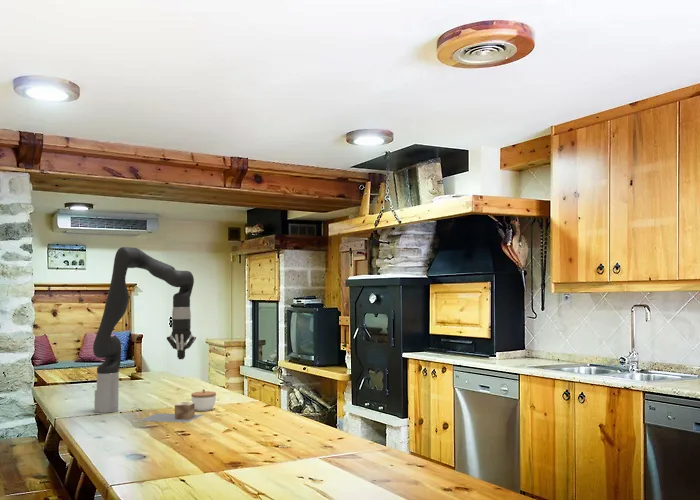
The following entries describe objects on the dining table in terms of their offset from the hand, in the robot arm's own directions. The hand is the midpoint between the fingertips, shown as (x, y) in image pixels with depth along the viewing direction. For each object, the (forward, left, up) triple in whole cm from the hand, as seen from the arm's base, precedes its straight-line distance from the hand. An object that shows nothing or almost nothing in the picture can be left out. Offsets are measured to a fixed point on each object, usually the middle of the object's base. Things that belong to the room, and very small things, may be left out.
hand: (181, 359), depth 276 cm
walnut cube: (+2, 0, -18) cm, 18 cm away
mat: (-4, 0, -25) cm, 25 cm away
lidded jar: (+2, +19, -25) cm, 31 cm away
